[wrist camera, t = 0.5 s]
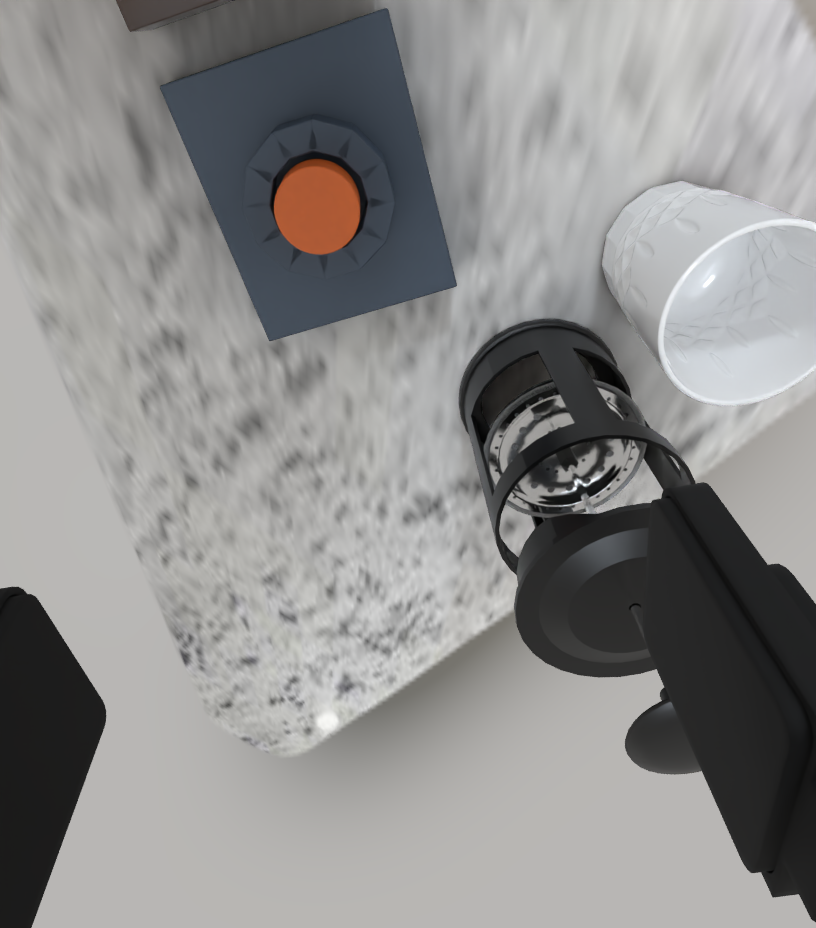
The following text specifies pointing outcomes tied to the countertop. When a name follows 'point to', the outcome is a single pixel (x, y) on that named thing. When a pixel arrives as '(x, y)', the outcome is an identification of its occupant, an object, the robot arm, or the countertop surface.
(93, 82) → the countertop surface
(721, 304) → the white cup
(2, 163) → the countertop surface
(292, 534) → the countertop surface
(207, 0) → the panel
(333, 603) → the countertop surface
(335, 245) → the release button
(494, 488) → the french press
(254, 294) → the button block
